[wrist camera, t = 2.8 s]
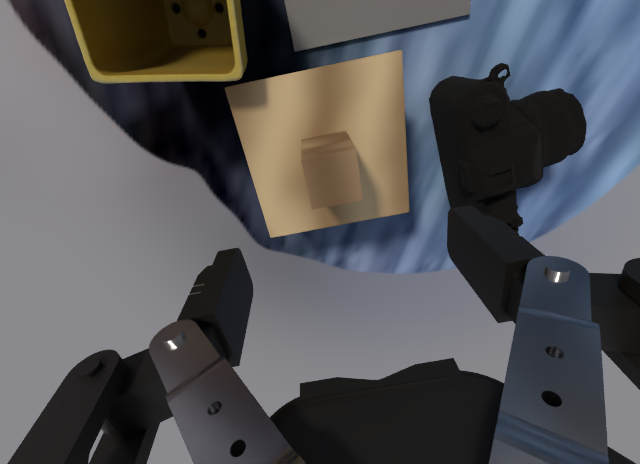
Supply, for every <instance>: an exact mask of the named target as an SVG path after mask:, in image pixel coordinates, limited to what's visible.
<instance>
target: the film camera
mask: <svg viewBox="0 0 640 464" xmlns="http://www.w3.org/2000/svg"><path fill="white" fill-rule="evenodd" d="M504 69H507V75H506V76H502V77H501V78H498V74H499V73H500V72H501V71H502V70H504ZM509 76H510V72H509V67H508V65H507V64H503V63H500V64H498V65H496V66H495V67H494V68H493V69H491V71H490V74H489V77H487V78H484V79H482V80H478V79H469V78H464V77H457V76H451V77H449V78H447V79H444V80H443V81H441V82H439V83H438V84H437V85H436V87H435V88H434V89H433V91H432V93H431V96H430V98H429V101H430V108H431V115H432V119H433V124H434V130H435V135H436V141H437V145H438V150H439V155H440V161H441V166H442V171H443V176H444V181H445V186H446V190H447V194H448V199H449V202H450V206H451V209H452V208H458V207H463V206H469V205H472V206H474V207H475V208H476V209H477V210H478V211H479V212H481V213H482V214H483V215H484V216H487V215H489V216H492V217H494V218H497V219H499V220H502V221H503V222H504V223H506V224H507V225H508V226H509V227H511V228H512V230H514V231H515V232H517V233H518V230H519V229H518V226H521V225H522V224H523V220H522V217H520V216H519V214H518V213H517V209H518V206H517V203H516V189H518V188H523V187H528V186H530V185H533V184H535V183H537V182H539V181H540V180H541V178H542V177H543V167H546V166H550V165H553V164H556V163H558V162H561V161H562V160H564V159H565V158H566V157H567V156H568V155H572V154H574V153H576V152H577V151H578V150H579V149H580V148H581V147H582V146H583V143H584V141H585V135H586V120H585V117H584V113H583V108H582V106H581V104H580V103H579V101H578V100H577V99H576V98H575V96H574V95H573V94H569V93H566V92H564V90H563V89H560V88H559V89H555V90H550V91H539V92H536V93H533V94H531V95H528V96H526V97H524V98H522V99H520V100H512V101H510V99H509V96H508V95H507V91H506V88H504V81H505V80H506V79H507V78H508V77H509Z"/></svg>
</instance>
